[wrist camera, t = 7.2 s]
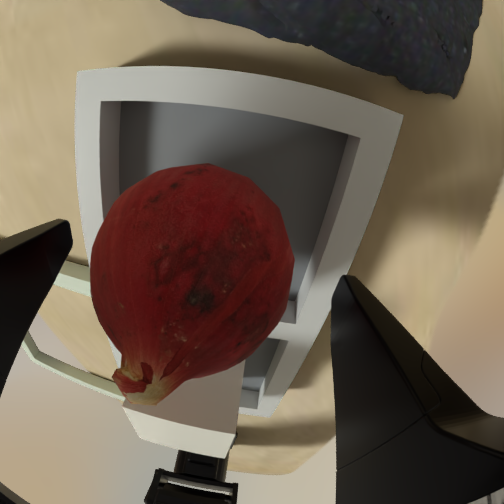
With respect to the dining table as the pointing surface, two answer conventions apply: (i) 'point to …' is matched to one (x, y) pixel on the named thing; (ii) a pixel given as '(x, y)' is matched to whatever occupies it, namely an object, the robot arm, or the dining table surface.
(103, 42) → the dining table surface
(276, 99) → the grey divided tray
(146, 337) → the onion
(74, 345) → the dining table surface
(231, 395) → the cream block
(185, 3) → the dark folded cloth
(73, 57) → the dining table surface
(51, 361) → the pale green square frame
